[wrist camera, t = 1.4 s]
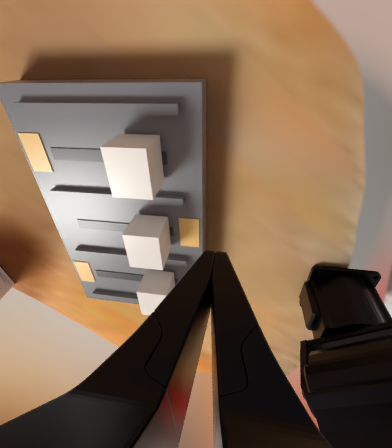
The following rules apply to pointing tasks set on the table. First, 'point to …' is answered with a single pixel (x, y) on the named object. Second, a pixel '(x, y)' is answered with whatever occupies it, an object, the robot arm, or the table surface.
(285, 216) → the table surface
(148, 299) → the tab
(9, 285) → the ink box
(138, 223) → the tab
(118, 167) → the tab
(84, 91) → the switch bank
